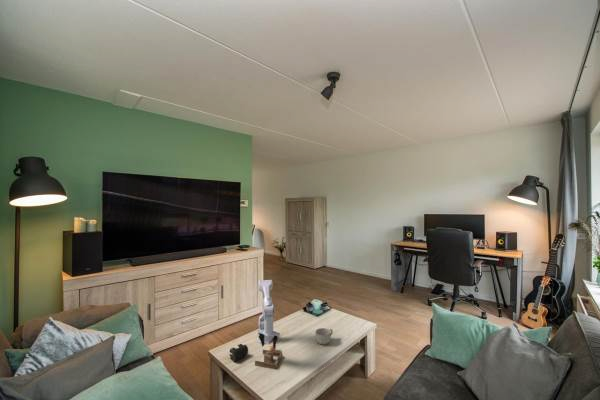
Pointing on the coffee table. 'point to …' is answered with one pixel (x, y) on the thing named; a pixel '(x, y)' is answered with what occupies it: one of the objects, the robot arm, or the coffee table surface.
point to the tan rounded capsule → (272, 347)
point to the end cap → (238, 352)
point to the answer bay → (270, 365)
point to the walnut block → (268, 357)
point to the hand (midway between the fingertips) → (268, 346)
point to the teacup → (323, 335)
